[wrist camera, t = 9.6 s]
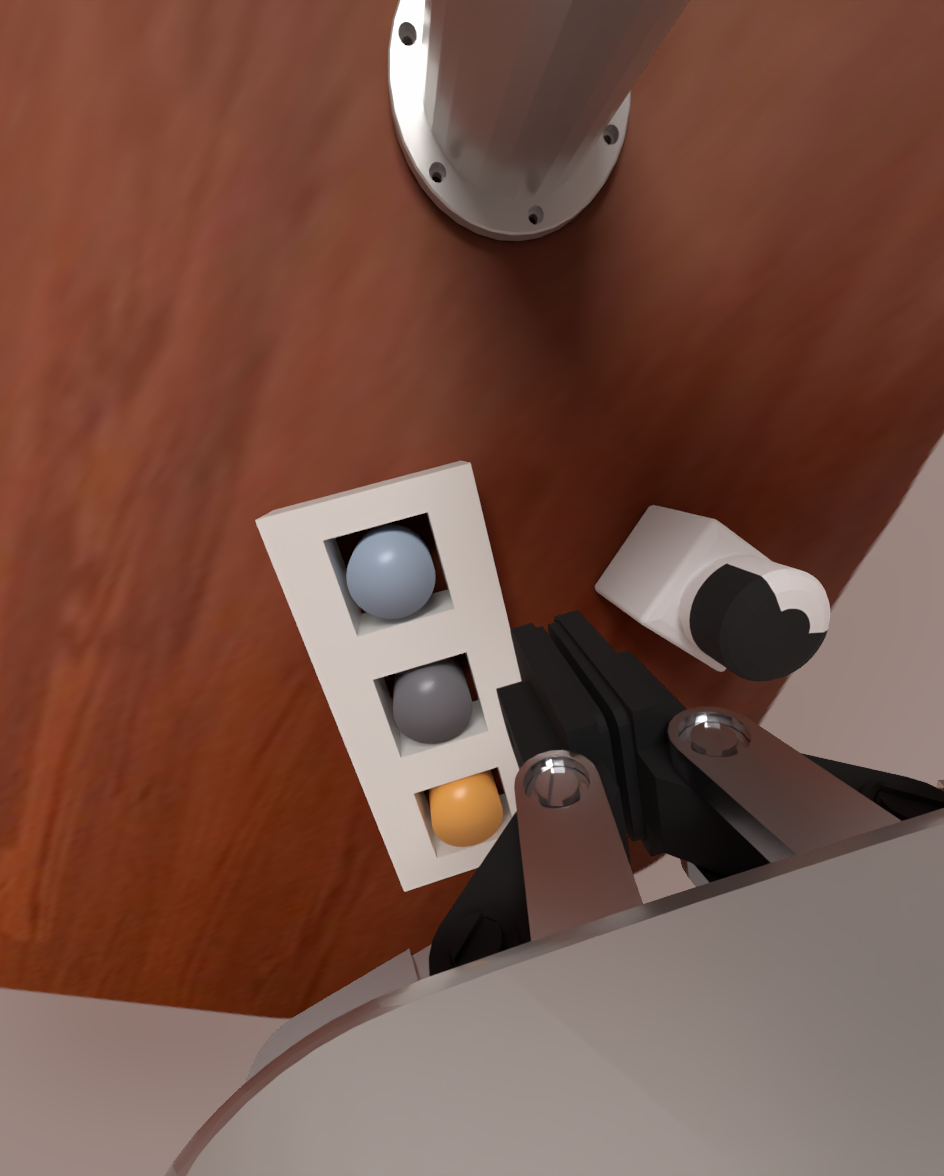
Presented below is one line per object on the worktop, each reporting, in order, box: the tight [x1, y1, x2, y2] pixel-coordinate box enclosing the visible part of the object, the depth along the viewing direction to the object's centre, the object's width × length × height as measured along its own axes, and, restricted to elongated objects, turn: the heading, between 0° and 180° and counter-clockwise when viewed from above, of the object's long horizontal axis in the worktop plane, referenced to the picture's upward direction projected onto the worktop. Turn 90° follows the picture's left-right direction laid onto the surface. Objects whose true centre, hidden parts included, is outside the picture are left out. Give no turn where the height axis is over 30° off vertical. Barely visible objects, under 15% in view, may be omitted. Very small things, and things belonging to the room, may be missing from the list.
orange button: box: [429, 769, 503, 847], centre depth 34 cm, size 5×5×4 cm
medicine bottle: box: [595, 505, 830, 681], centre depth 28 cm, size 7×7×12 cm
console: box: [255, 461, 521, 892], centre depth 32 cm, size 28×12×4 cm, turn 14°
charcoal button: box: [393, 657, 472, 744], centre depth 31 cm, size 5×5×4 cm
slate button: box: [346, 524, 435, 619], centre depth 28 cm, size 5×5×4 cm
